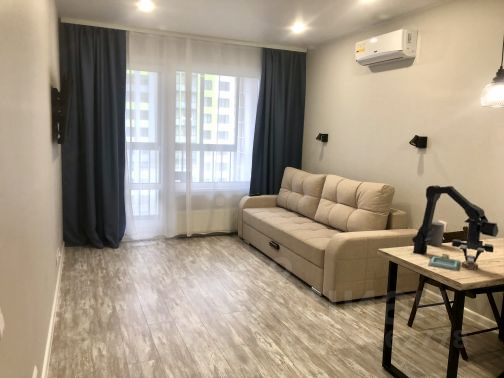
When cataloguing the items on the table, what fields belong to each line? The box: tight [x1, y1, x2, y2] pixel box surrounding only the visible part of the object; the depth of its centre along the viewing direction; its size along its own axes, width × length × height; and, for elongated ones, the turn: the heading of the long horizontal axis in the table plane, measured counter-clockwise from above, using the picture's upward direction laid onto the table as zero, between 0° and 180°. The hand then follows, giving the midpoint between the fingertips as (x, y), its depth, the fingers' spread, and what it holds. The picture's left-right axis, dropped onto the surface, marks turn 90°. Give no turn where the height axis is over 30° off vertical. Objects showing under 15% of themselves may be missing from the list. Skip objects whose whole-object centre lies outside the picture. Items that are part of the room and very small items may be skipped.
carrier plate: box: [427, 253, 461, 272], centre depth 217 cm, size 14×18×3 cm
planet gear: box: [461, 254, 479, 271], centre depth 212 cm, size 7×7×6 cm
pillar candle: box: [427, 220, 445, 247], centre depth 254 cm, size 10×10×15 cm
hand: (470, 261), depth 212 cm, fingers closed on planet gear, 4 cm apart
